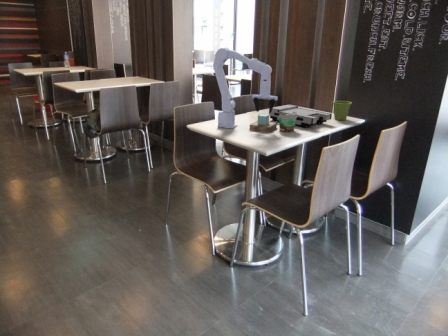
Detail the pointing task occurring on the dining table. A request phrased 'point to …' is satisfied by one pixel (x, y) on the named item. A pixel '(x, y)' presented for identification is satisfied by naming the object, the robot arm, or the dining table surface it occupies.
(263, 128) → the walnut base
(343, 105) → the plant pot
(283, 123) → the food container
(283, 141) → the dining table surface
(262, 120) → the teal cube
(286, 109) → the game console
